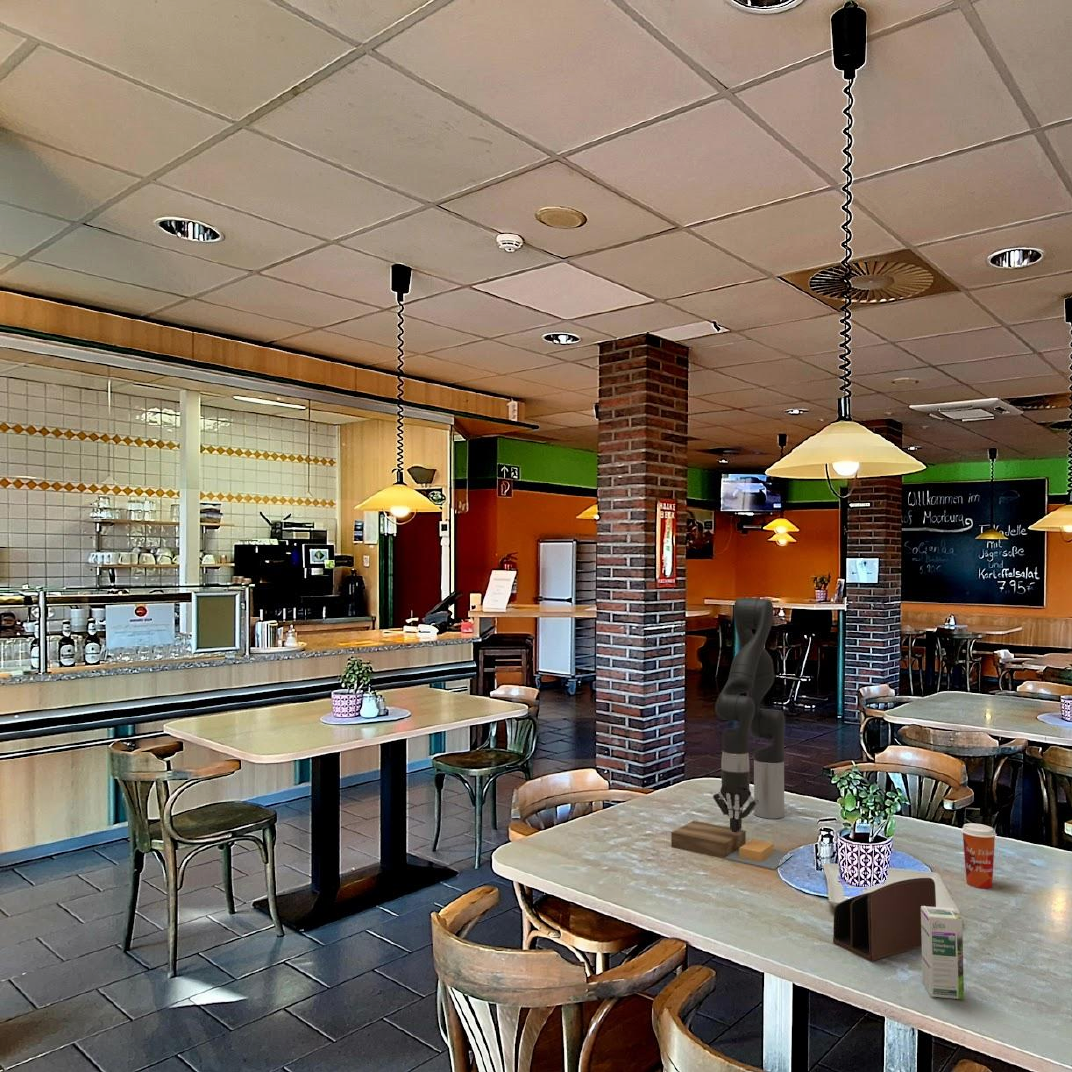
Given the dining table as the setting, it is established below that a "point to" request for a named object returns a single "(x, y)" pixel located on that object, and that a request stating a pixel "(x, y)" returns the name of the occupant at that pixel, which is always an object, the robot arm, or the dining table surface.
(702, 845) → the wooden block
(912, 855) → the dining table surface
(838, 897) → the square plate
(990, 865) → the paper cup
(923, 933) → the syrup box
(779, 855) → the mat
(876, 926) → the letter holder
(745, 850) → the orange rectangular block
